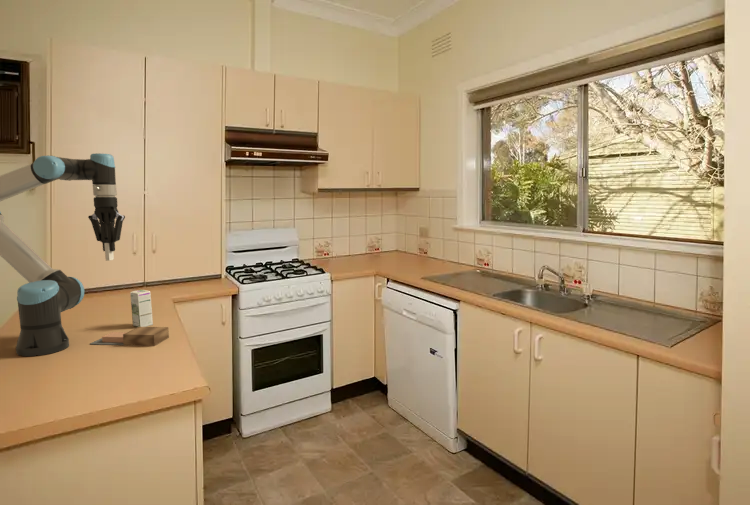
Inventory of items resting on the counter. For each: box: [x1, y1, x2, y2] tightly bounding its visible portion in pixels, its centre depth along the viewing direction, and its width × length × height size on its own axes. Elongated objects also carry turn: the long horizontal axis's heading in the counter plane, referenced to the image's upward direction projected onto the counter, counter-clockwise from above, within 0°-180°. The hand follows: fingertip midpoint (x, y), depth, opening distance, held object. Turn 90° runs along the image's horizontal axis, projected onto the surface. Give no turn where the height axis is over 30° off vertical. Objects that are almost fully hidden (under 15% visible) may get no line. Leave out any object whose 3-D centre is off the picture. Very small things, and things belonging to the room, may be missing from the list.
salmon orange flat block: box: [101, 331, 128, 343], centre depth 172 cm, size 9×6×2 cm, turn 86°
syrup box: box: [129, 289, 154, 328], centre depth 192 cm, size 6×6×14 cm
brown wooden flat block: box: [123, 326, 170, 347], centre depth 172 cm, size 12×10×4 cm
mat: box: [89, 337, 125, 346], centre depth 173 cm, size 13×10×1 cm
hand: (109, 260), depth 174 cm, fingers closed
